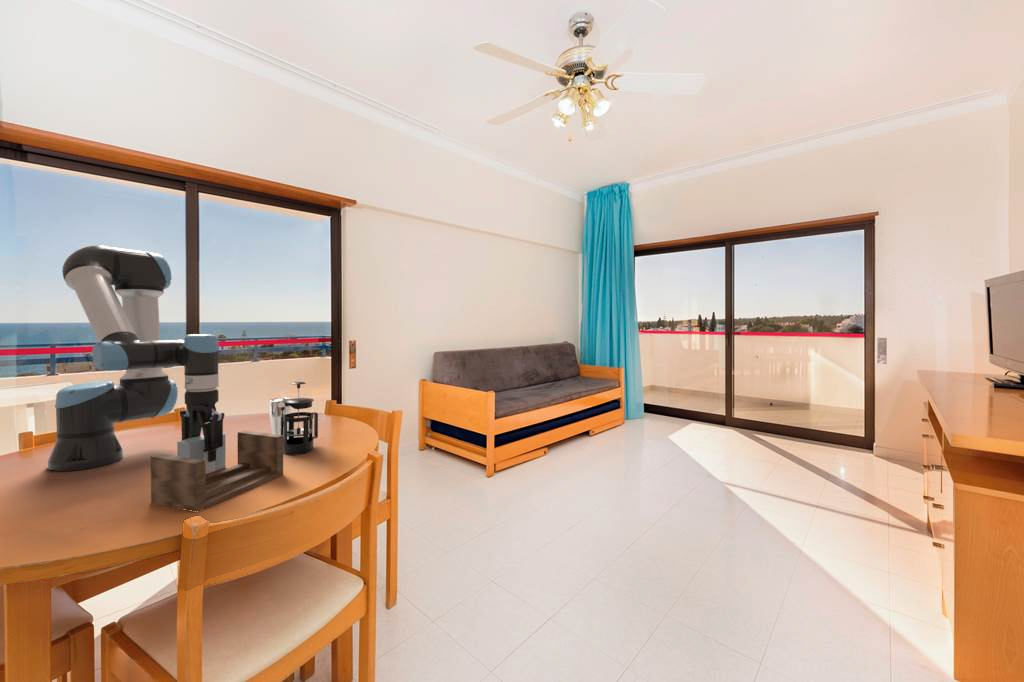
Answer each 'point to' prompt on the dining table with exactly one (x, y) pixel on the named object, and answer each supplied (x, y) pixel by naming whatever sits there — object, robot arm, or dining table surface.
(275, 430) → the white silver canister
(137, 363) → the robot arm
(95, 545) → the dining table surface
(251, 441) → the track base
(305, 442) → the french press
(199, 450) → the plain grey rectangular block
